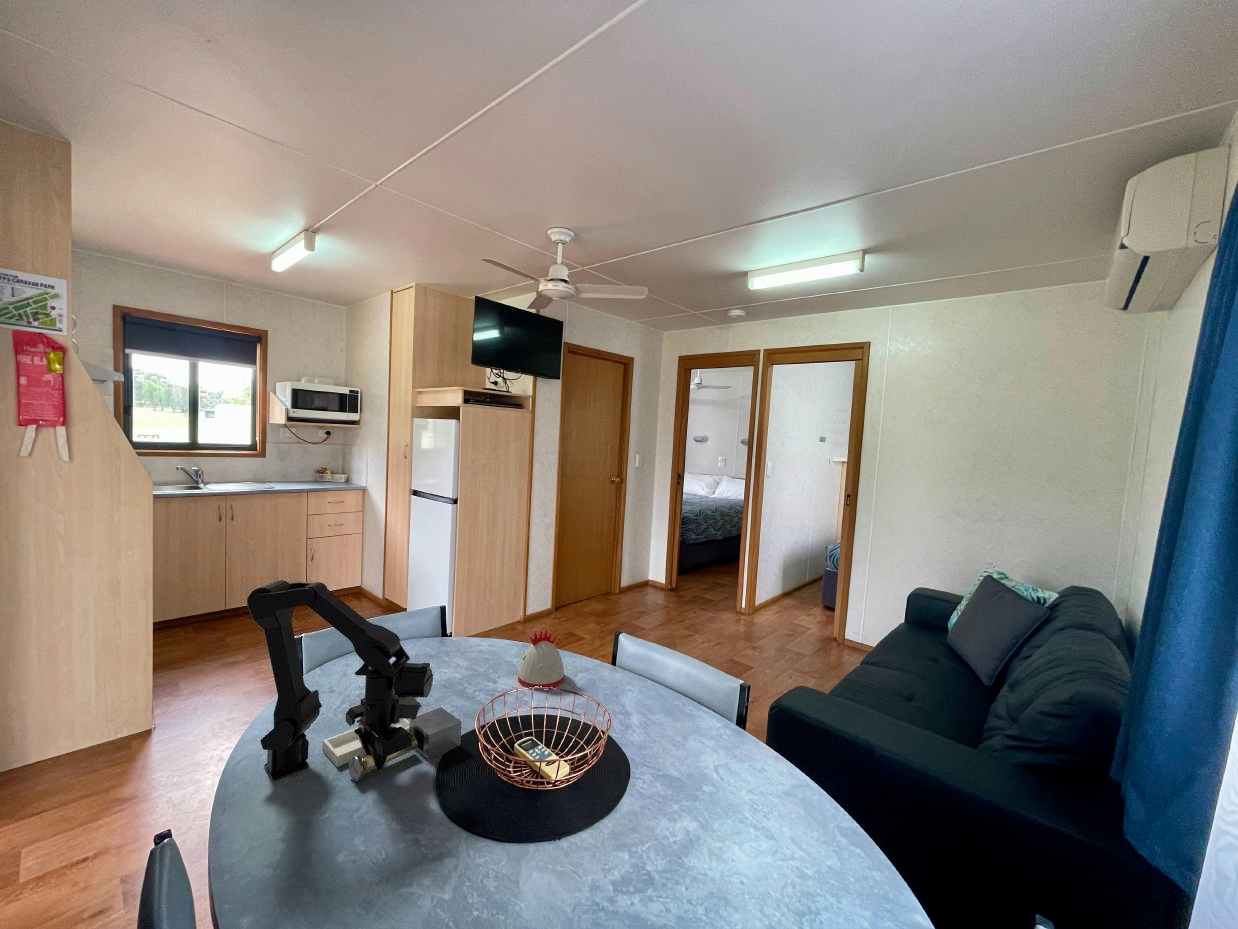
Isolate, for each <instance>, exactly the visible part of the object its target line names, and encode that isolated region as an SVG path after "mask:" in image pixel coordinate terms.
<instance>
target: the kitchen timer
mask: <svg viewBox="0 0 1238 929" xmlns="http://www.w3.org/2000/svg"><path fill="white" fill-rule="evenodd" d="M537 635H538V636H537ZM552 635H553V634H552V632H549V633H548V631H547V629H545V630H544V632H543V631H542V630H541V629H540V631H539V634H537V632H536V631H534V632H533V638H532V637H531V636H530V635H529V637H528V638H529V640H530V642H531V645H530V646H529V647H528V648H527V649H526V651H525V653H524V654H523V657H522V660H521V661H520V665H519V668H518V674H517V675H518V676H517V682H518V683H519V684H520V685H521V686H522V687H524V688H527V687H535V686H539V687H540V686H542V687H554V688H556V687H558V686H560V685H561V684H563V682H564V681H565V670H564V669H565V668H564V664H563V659H562V656H561V653H560V651H559V650H558V648H557V647H556V646H555V645H554V643H555V641H556V638H557V636H556V635H554V636H552ZM551 637H552V639H551Z"/></svg>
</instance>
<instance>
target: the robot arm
mask: <svg viewBox="0 0 1238 929" xmlns="http://www.w3.org/2000/svg"><path fill="white" fill-rule="evenodd" d="M246 605H247V607H248V608H247V609H248V610H249V613H250V615H251V617H252V619H253V621H254V622H255V623H256V624H257V625H258V626H260V628H261V629H262V630H263V633H264V636H265V641H266V642H265V643H266V646H267V647H266V648H267V652H268V655H269V660H270V665H271V670H272V675H273V679H274V684H275V689H276V693H277V699H276V703H275V707H274V711H273V728H272V729H271V730H270V731H269V732H268V733H267V734H265V735H264V736H263V737H262V738H261V739H260V741H259V742H260V744H261V748H262V750H263V751H267V752H266V753H267V755H266V756H267V757H266V758H267V759H266V763H265V764H264V765H263V768H264V770H265V771H266V772H267V774H268V775H269V777H270V778H271V779H272V780H273V781H275V780H278V779H281V778H283V777H287V776H289V775H291V774H293V773H296V772H299V771H301V770H304V769H306V768H308V767H309V763H308V761H307V760H309V743H310V742H309V740H308V739H307V734H306V733H305V732H306V731H307V730H308V729H310V727H311V726H312V725H313V723H315V721H316V720H317V719H318V717H319V716H320V715H321V714H320V712H321V708H322V707H323V704H322V703H321V701H320V693H319V690H318V689H315V690H310V689H309V688H308V687H307V686H306V684H305V680H304V674H303V670H302V666H301V660H300V656H299V652H298V647H297V646H298V645H297V642H296V637H295V632H294V627H293V623H292V621H293V620H292V619H293V616H294V612H295V609H296V607H308V608H309V610H311V611H312V612H314V613H315V614H316V615H318V617H320V618H321V619H323V621H325V622H326V623H327V624H328V625H329V626H331V627H332V628H334V629H335V630H336V631H337V632H339V633H340V634H341V635H343V636H344V637H345V638H346V639H347V640H348V641H349V642H350V643H351V644H352V647H353V649H354V652H355V654H356V655H357V656H358V658H359V659H360V660H361V661H362V662H363V664H362V665H361V666H360V667H359V668H358V669H357V670H356V671H354V675H355V676H365V678H364V679H365V680H364V681H365V683H364V684H365V686H364V697H363V698H361V699H360V704H358V705H354V706H351V707H350V708H349V709H348V710H347V712H346V713H345V722H346V723H347V724H348V726H350V727H352V726H353V725H355V724H356V723H357V728H358V729H355V728H354V729H355V730H354V733H355V734H356V736H357V738H358V740H359V742H360V743H361V745H362V747H363V749H364V751H365V754H366V755H365V757H366V756H368V755H372V758H373V761H374V764H375V767H376V768H375V770H376V771H378V772H379V771H381V770H382V769H384V766H385V764H386V763H385V761H386V759H387V756H389V755H392V754H394V753H396V752H399V751H401V750H403V749H406V748H408V747H410V746H411V745H412V741H413V735H412V734H411V733H409V732H408V731H407V730H406V729H405V728H403V727H401V726H400V727H391V724H396V723H399V721H400V719H407V720H408V719H409V720H410V719H416V717H417V716H418V712H419V710H420V707H421V702H419V700H418V701H417V699H416V700H415V699H414V698H411V697H418V698H423V699H424V698H426V699H427V698H428V697H429V695H430V693H431V690H432V687H433V681H434V674H433V670H432V668H431V663H430V662H422V663H419V662H418V663H417V662H409V661H410V660H411V658H410V656H409V655H408V653H407V652H406V650H405V649H404V647H403V646H402V644H401V639H400V636H398V634H397V633H395V632H394V631H392V630H390V629H388V628H386V627H385V626H382V625H380V624H376V623H372V622H371V621H368V620H367V619H366V618H364V617H363V616H362V615H360V614H359V613H358V612H357V611H356V610H354V609H353V608H352V607H351V606H350V605H349V604H347V603H345V602H344V601H343V600H342V599H341V598H339V596H338V595H336V594H335V593H334V592H332V591H331V590H330V589H329V588H328V586H327V585H326V584H325V583H323V582H319V581H316V582H303V581H297V582H289V581H286V580H284V579H283V580H282V579H279V580H274V581H272V582H270V583H267V584H264V585H262V586H260V587H257V588H255V589H253V591H251V592H250V594H249V596H247V598H246ZM393 658H395V660H393V661H392V662H390V660H392V659H393ZM394 691H395V693H394ZM358 718H359V719H358ZM356 719H358V720H356Z"/></svg>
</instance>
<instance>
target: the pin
mask: <svg viewBox="0 0 1238 929" xmlns="http://www.w3.org/2000/svg"><path fill="white" fill-rule="evenodd" d="M417 748H418V743H417V739H416V738H415V737H413V741H412V745H411V746H410V747H408V748H406V749H403V750H401V751H399V752H396V753H394V754H392V755H389V756H387V759H386V761H385V764H387V763H389V762H392V761H393V760H396V759H398V758H400V757H403V756H405V755H408V754H409V753H412V752H413V751H416V749H417ZM373 769H376V767H375V764H374V761H373V758H372V755H368V756H366V755H365V756H362V757H360V756H359V755H356V756H354V757H352V758H350V760H349V762H348V772H349V776H350V779H351V780H352V781H353V782H357V781H360V780H362V779H363V778H364V777H365V773H366V772H367V773H368V772H369V771H370V770H373Z"/></svg>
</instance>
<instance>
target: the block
mask: <svg viewBox="0 0 1238 929" xmlns="http://www.w3.org/2000/svg"><path fill="white" fill-rule="evenodd" d="M408 721H409V733H411V734H412V735H413V737H415V738H416V739H417V743H418V748H417V749H416V750H415V751H416V752H417V753H419V754H420V755H421V756H422V757H423V758H424V759H426V760H427V761H428V762H429V761H431V760H433V759H435V758H438V757H439V756H442V755H444V754H446V753H448V751H449V750H451V749H452V748H455V747H456V746H459V745H460V744H462V742H461V741H462V724H463V723H462V720H460V719H459V718H457V717H456V716H454V715H453V714H452V713H450V712H449V711H448V710H446V709H445V708H443V707H441V706H440V707H438V708H436V709H433V710H430V711H428V712H425V713H422V714H420V715H417V716H416V719H409V720H408ZM459 747H460V746H459ZM455 749H456V748H455ZM451 751H452V750H451ZM449 752H450V751H449Z"/></svg>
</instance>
